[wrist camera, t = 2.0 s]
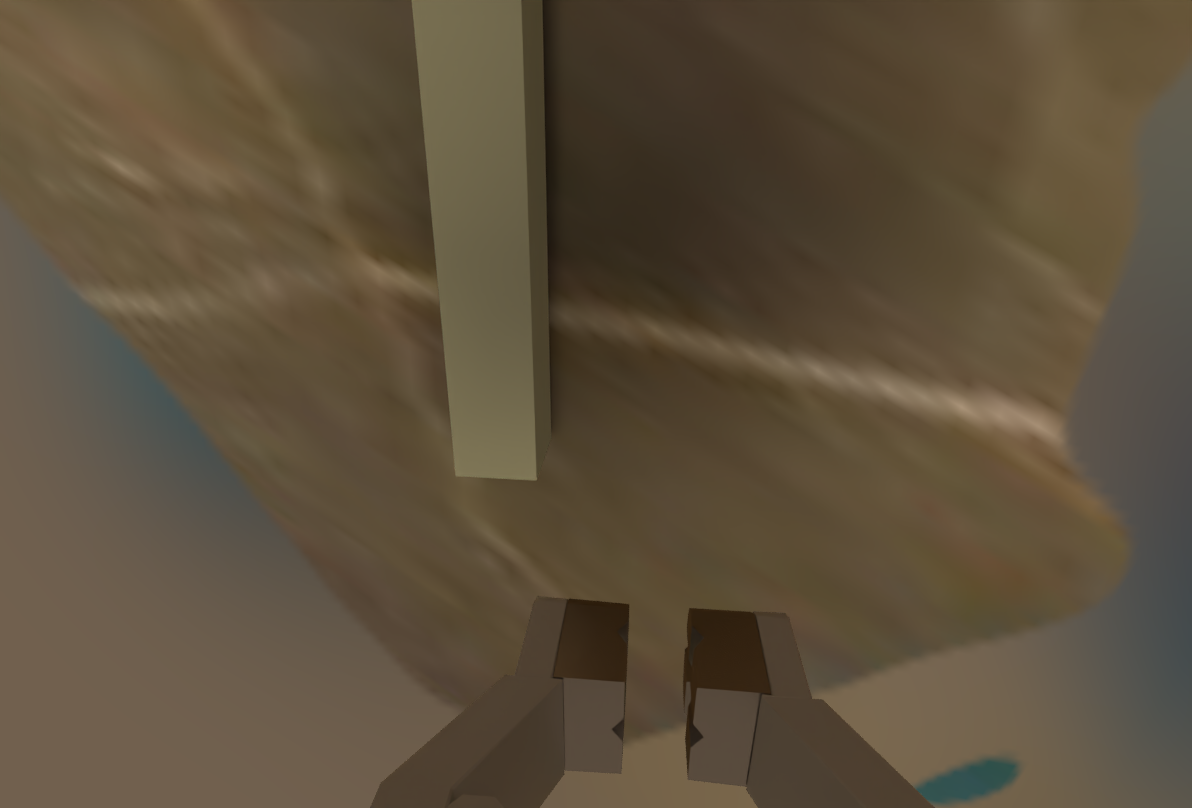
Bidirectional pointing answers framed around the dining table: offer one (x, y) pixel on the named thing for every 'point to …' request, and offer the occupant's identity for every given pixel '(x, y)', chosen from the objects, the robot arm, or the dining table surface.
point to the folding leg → (489, 225)
